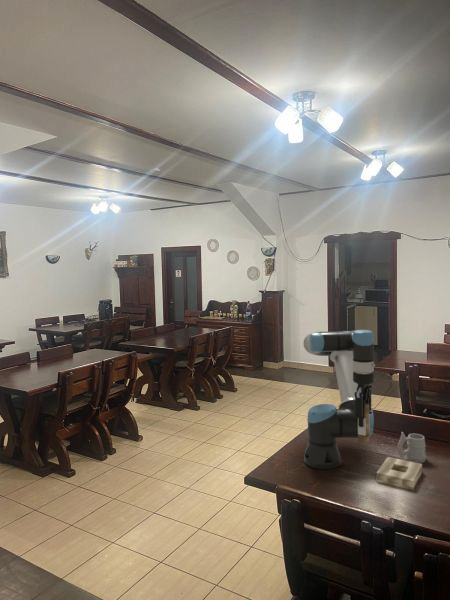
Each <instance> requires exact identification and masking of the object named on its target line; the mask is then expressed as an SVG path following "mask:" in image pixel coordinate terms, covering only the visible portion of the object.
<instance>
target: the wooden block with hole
mask: <svg viewBox="0 0 450 600" xmlns="http://www.w3.org/2000/svg"><path fill="white" fill-rule="evenodd" d="M422 474H423V463H415V462H411V461H409V460H406V459H405V460H404V459H402V458H401V459H399V458H395V457H391V456H387V457H386V459H385V460H384V462H382V464H381V466H380V467H379V469H378V470H377V472H376V482H377V483H380V484H386V485H390V486H393V487H396V488H400V489H401V488H402V489H406V490H410V491H414V489H415V488H416V485H417V483H418V481H419V480H420V477H421V476H422Z"/></svg>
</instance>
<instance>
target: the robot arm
mask: <svg viewBox="0 0 450 600" xmlns="http://www.w3.org/2000/svg"><path fill="white" fill-rule="evenodd" d="M374 343H375V336H374V332H373V331H372V330H367V329H357V330H351V331H350V330H349V331H348V330H342V331H341V330H340V331H316V332H312V333H310V334H307V335H306V336H305V337H304V339H303V348H304V350H305V351H306V352H307V353H309V354H311V355H315V356H319V357H326V356H327V357H329V359H330V361H331V362H333V363H334V368H335V369H334V370H335V375H336V380H337V381H336V382H337V386H338V391H339V397H340V398H339V399H340V401H341V402H340V404H339V406H338V408H337V407H336V405H334V404H331V403H330V404H328V403H321V404H316V405H314V406H311V407H310V408H309V409H308V410H307V411H308V412H307V419H306V421H307V444H306V449H305V451H304V454H303V462H304V464H305V465H306V466H308V467H311V468H314V469H318V470H331V469H335V468H338V467H340V466H341V465H342V456H341V453H340V450H339V447H338V445H337V439H352V438H353V439H357V438H358V434H359V435H366V418H365V403H368V404H369V434H370V435H369V438H370V437H371V436H372V434H373V433H374V432H373V431H374V422H375V421H374V418H375V417H374V411H373V408H372V389H373V385H372V384H373V383H374V382H375V373H374V371H375V369H374V368H375V367H376V364H375V362H374V359H375V358H374V357H375V355H374V354H375V353H374V351H375V346H374V345H375V344H374Z"/></svg>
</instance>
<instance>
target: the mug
mask: <svg viewBox="0 0 450 600" xmlns="http://www.w3.org/2000/svg"><path fill="white" fill-rule="evenodd" d="M400 434H401V435H400V437H399V441H398V444H397V446H396V447H397V454H398V455H399V456H400V458H401V459H402V458H404V457H405V456H406V458H407V461H410V462H415V463H420V464H423V463H425V462H426V459H427V454H426V446H427V445H426V441H425V440H426V439H425V436H424V435H422V434H421V433H420V434H419V433H409V434H408V435H407V437H406V435H405V433H404V432H403V431H401V433H400ZM405 442H406V444H407V449H405V450H404V449H403V445H404V443H405Z"/></svg>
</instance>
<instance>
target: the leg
mask: <svg viewBox="0 0 450 600" xmlns="http://www.w3.org/2000/svg"><path fill="white" fill-rule="evenodd" d="M365 418H366V435H359V434H358V442H359V443H360V442H361V443H365V444H366V443H367V444H368V443H369V442H370V437H369V435H370V434H369V404H368V403H365Z"/></svg>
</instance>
